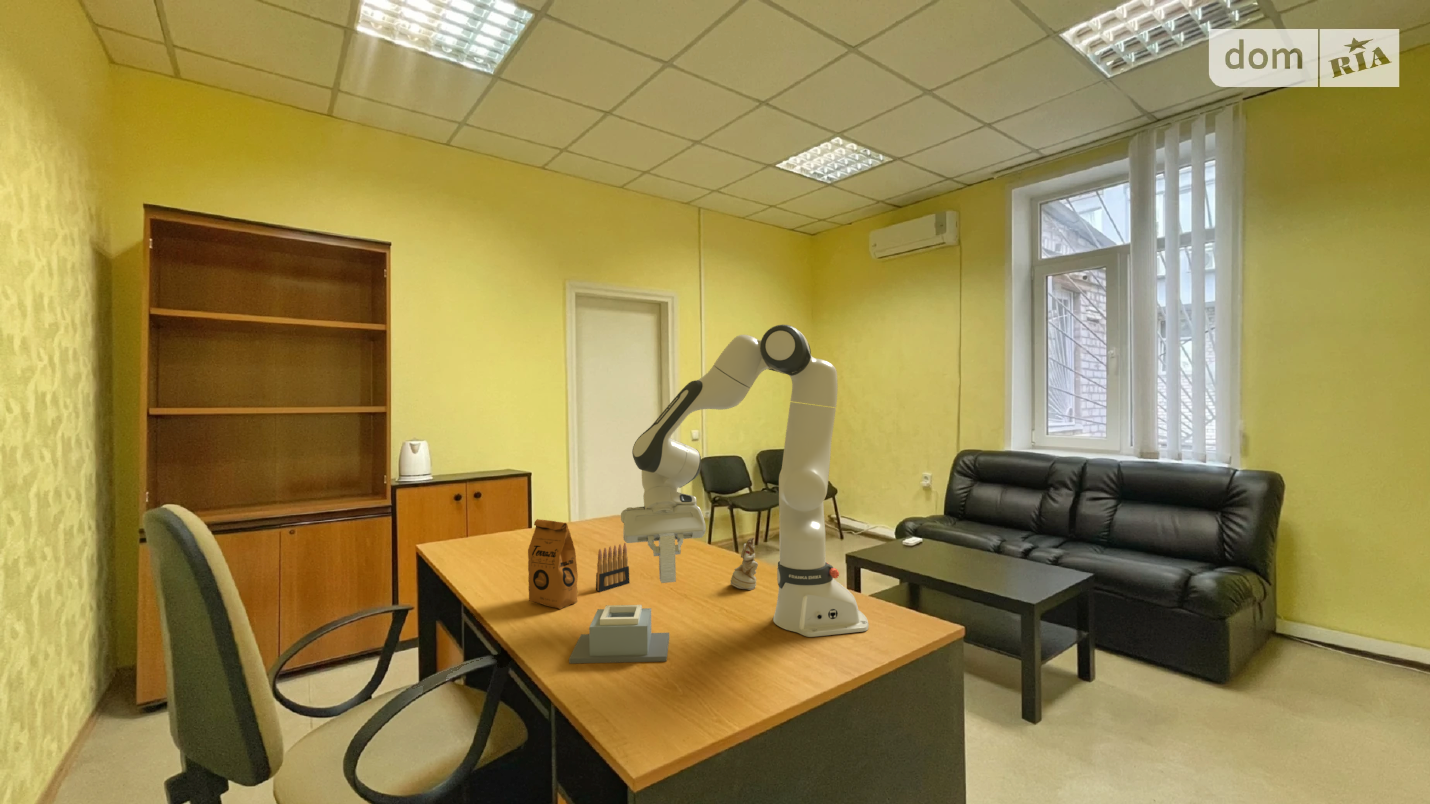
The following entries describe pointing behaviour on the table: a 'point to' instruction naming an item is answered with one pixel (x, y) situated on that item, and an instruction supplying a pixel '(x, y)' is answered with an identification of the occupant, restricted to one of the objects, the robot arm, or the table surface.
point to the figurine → (746, 568)
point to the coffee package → (552, 565)
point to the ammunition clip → (612, 569)
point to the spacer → (621, 620)
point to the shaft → (667, 557)
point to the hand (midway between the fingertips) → (667, 554)
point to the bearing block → (621, 641)
